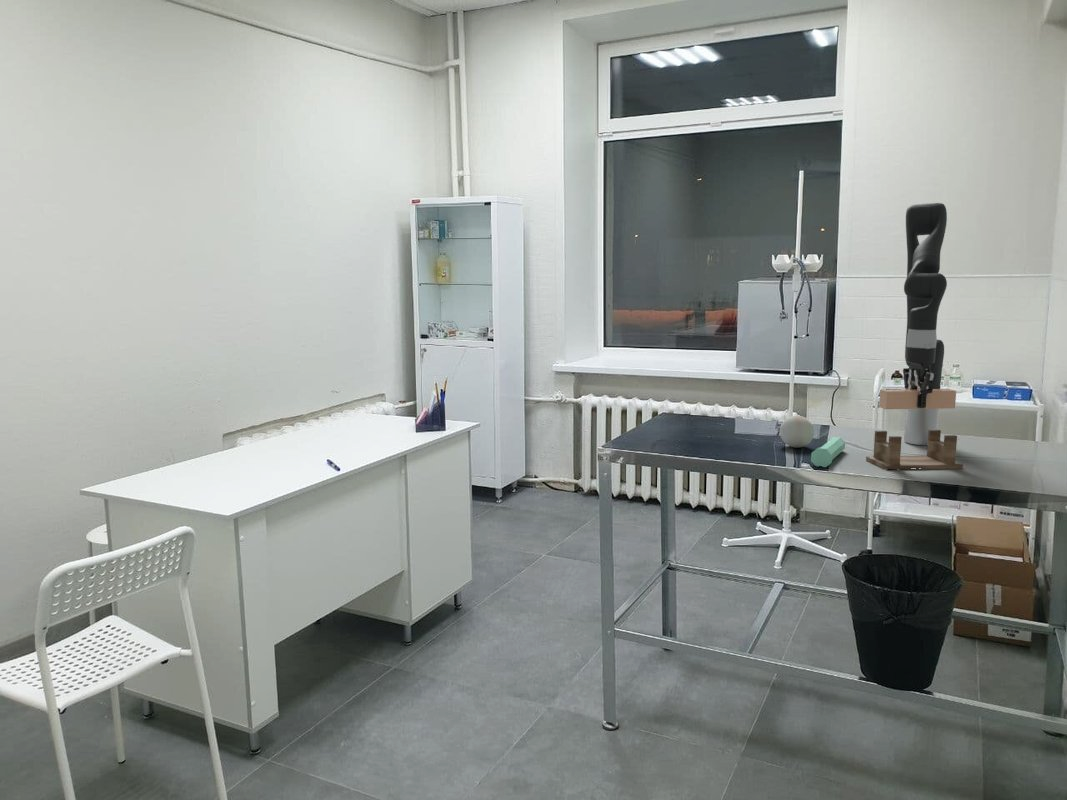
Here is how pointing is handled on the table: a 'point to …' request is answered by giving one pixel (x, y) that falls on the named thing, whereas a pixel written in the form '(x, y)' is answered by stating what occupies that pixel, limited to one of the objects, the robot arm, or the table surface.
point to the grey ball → (796, 431)
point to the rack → (936, 458)
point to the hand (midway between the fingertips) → (917, 406)
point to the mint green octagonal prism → (827, 452)
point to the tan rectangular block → (910, 396)
